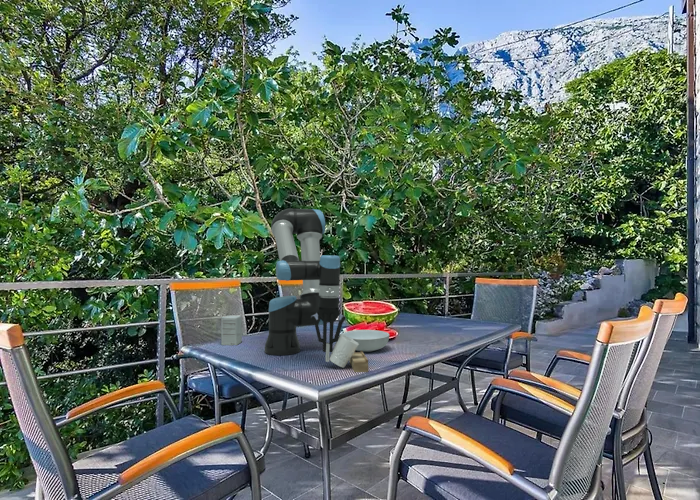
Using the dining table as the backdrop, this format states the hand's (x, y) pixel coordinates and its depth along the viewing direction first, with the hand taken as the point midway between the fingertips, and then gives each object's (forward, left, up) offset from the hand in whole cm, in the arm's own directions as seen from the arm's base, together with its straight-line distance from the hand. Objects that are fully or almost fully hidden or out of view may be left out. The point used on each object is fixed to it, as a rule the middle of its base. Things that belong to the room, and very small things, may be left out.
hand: (327, 361), depth 158 cm
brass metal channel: (0, +12, -2) cm, 12 cm away
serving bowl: (-28, +19, -3) cm, 34 cm away
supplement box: (-46, -41, -3) cm, 62 cm away
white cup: (0, +3, -1) cm, 4 cm away
